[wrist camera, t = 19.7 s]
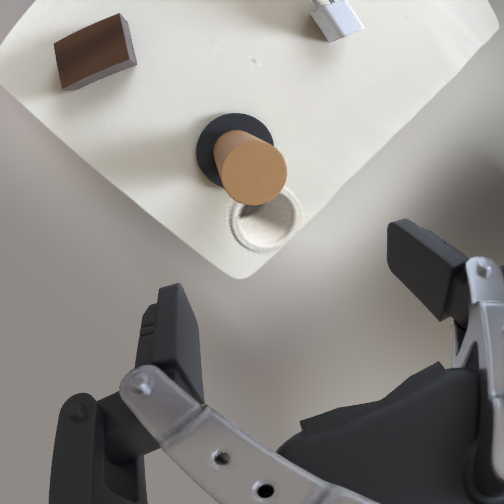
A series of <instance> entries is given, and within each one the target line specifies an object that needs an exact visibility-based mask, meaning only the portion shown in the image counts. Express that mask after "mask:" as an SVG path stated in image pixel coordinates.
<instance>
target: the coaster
mask: <svg viewBox="0 0 504 504" xmlns="http://www.w3.org/2000/svg"><path fill="white" fill-rule="evenodd" d="M232 130H241V131H245V132H247V133H249V134H251V135H253V136H255V137H257V138H259V139H261V140H263V141H265V142H267V143H269V144H270V145H272V146H274V143H273V139H272V136H271V134H270V132H269V131H268V129H267V128H266V126H265V125H264V124H263V123H261V122H260V121H259V120H257V119H256V118H254V117H252V116H249V115H246V114H240V113H232V114H226V115H223V116H220V117H218V118H216V119H215V120H213V121H212V122H211V123H209V124H208V125H207V126H206V128H205V129H204V130H203V132H202V133H201V135H200V138H199V140H198V144H197V159H198V163H199V166H200V168H201V170H202V171H203V173H204V174H205V175H206V177H207V178H208V179H210V180H211V181H212V182H214V183H215V184H217V185H219V186H222V187H223V184H222V181H221V178H220V175H219V172H218V168H217V165H216V162H215V159H214V154H213V151H214V146H215V143H216V141H217V140H218V138H219V137H220V136H222V135H223V134H224V133H226V132H228V131H232Z"/></svg>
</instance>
